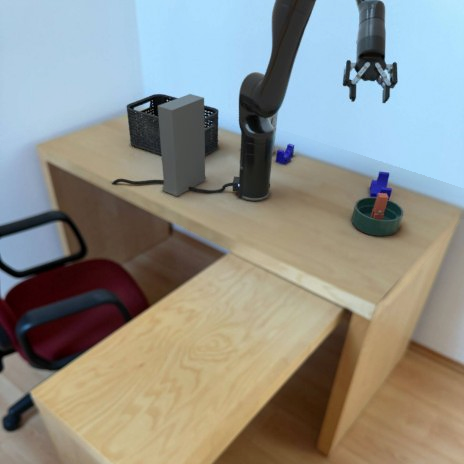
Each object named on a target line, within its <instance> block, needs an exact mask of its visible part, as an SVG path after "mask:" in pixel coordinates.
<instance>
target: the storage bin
mask: <svg viewBox="0 0 464 464" xmlns="http://www.w3.org/2000/svg"><path fill="white" fill-rule="evenodd" d="M178 98H179V97H176V96H172V95H168V94H163V93H154V94H151V95H149V96H146V97H144V98H141V99H139V100H136V101H133V102H130V103H128V104H126V113H127V123H128V132H129V141H130V145H132V146H133V147H136V148H139V149H142V150H145V151H148V152H151V153H154V154H157V155H160V156H162V155H161V142H160V130H159V118H158V106H159V105H161V104H164V103H167V102H169V101H172V100H175V99H178ZM148 103H149V107H146V108H144V109H142V110H137V109H135V108H137V107H140V106H143V105H146V104H148ZM219 112H220V111H219V109H218V108H216V107H212V106H209V105H205V104H204V126H205V157H206V156H208V155H209V154H211V153H212V152H214V151H216V150H218V149H219Z"/></svg>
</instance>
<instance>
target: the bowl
mask: <svg viewBox="0 0 464 464" xmlns="http://www.w3.org/2000/svg"><path fill="white" fill-rule="evenodd" d="M376 198H377V197H370V196H367V197H362V198H359V199H358V200H357V201H355V204H354V207H353V211H352V215H351V223H352V225H353V226H354V227H355V228H356V229H357V230H359V231H361V232H363V233H365V234H367V235H370V236H375V237H376V236H377V237H385V236H390V235H392V234H395V233H397V231H398V230H399V228H400V225H401V223H402V219H403V217H404V210H403V208H402V207H401V206H400V205H399V204H398V203H397V202H395V201H393V200H391V199H389V200H388V201H387V204H386V208H385V211H384V217H383V220H378V219H373V218H370V217H371V213H372V210H373V209H374V205H375V201H376Z"/></svg>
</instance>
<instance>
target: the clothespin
mask: <svg viewBox="0 0 464 464" xmlns="http://www.w3.org/2000/svg"><path fill="white" fill-rule="evenodd" d="M388 198H389V197H388V196H387V194H386V193H378V194H377V198H376V201H375V205H374V209H373V210H372V213H371V217H370V218H373V219H378V220H383V217H384V211H385V208H386V204H387V201H388Z"/></svg>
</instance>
